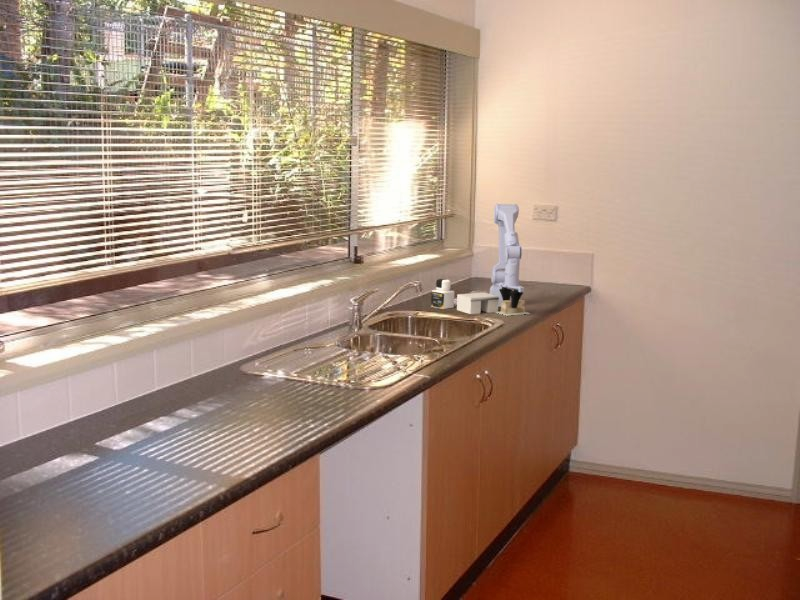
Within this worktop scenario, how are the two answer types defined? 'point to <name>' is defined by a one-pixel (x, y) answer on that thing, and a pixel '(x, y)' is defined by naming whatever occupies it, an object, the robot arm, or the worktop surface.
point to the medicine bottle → (442, 295)
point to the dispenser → (477, 303)
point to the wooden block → (508, 309)
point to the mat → (513, 313)
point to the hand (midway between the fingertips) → (510, 306)
